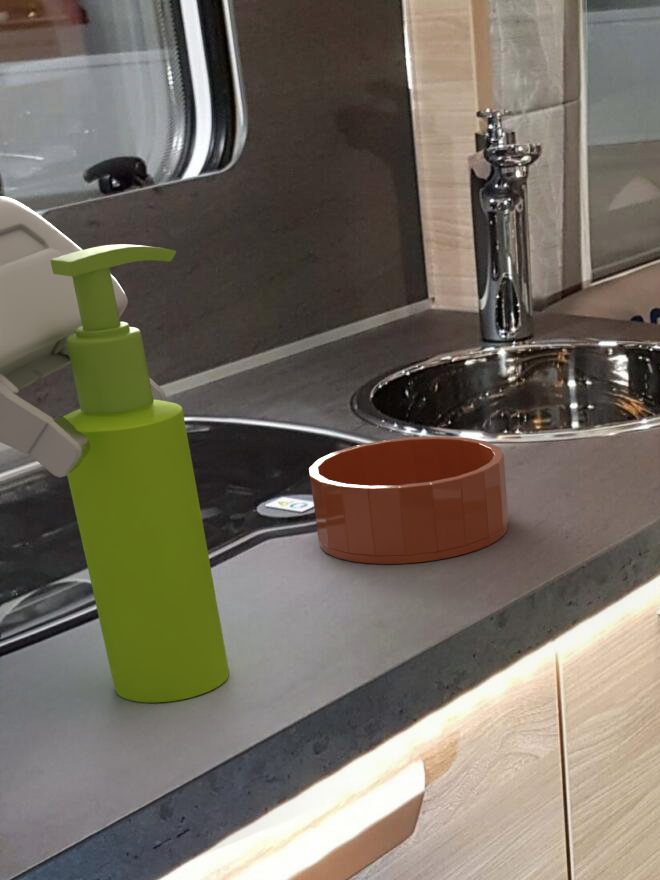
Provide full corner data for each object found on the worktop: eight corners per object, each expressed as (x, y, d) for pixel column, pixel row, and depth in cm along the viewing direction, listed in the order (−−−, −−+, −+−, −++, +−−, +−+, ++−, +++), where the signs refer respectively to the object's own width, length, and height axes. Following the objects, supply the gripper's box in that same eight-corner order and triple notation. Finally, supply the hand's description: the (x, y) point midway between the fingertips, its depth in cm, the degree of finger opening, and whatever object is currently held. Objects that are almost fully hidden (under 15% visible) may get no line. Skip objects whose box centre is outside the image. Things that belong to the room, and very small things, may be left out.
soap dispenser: (268, 671, 80) (198, 241, 68) (151, 712, 76) (58, 266, 65) (207, 645, 83) (131, 234, 72) (94, 684, 80) (-4, 257, 69)
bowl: (296, 565, 94) (285, 490, 92) (346, 508, 104) (337, 439, 101) (489, 562, 92) (483, 485, 89) (521, 504, 102) (517, 433, 99)
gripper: (-54, 239, 79) (162, 432, 83) (-292, 313, 63) (-10, 550, 66) (5, 133, 76) (227, 339, 79) (-230, 182, 59) (63, 439, 63)
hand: (118, 436), depth 73 cm, fingers open, 8 cm apart
